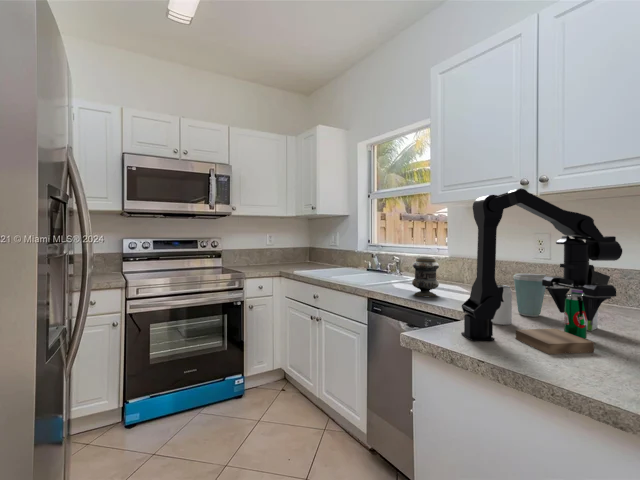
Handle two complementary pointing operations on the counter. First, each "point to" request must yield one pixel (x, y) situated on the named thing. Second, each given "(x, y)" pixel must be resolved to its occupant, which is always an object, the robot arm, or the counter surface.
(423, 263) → the apothecary jar
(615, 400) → the counter surface
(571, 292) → the syrup box
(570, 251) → the robot arm
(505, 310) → the can
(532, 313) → the disposable coffee cup
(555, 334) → the walnut base
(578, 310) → the soda can
